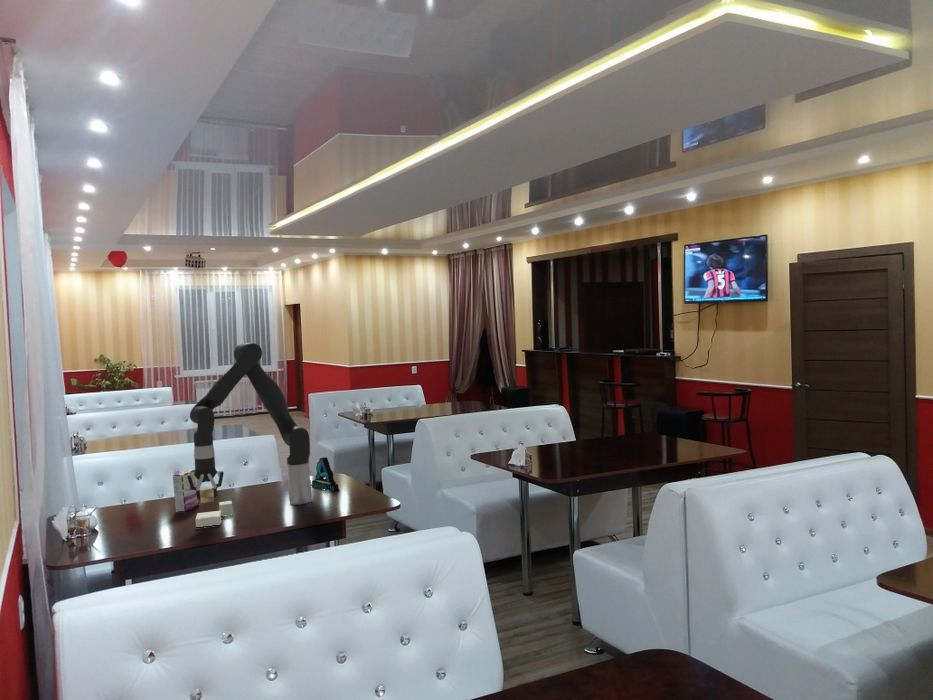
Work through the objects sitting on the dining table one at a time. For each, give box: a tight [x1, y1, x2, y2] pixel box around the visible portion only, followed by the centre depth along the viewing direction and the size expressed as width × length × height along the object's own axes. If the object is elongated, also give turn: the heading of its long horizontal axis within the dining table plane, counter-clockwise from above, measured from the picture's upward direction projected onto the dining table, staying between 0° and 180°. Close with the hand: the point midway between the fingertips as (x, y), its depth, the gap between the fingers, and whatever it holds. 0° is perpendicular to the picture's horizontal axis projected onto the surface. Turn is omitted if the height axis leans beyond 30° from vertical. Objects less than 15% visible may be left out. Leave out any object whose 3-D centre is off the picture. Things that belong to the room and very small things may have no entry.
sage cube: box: [218, 500, 234, 517], centre depth 294 cm, size 5×5×5 cm
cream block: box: [195, 510, 223, 528], centre depth 281 cm, size 9×9×4 cm
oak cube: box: [199, 486, 215, 504], centre depth 281 cm, size 5×5×5 cm
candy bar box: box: [172, 468, 201, 513], centre depth 306 cm, size 11×5×16 cm, turn 168°
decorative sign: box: [311, 456, 340, 493], centre depth 330 cm, size 19×2×15 cm, turn 46°
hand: (207, 498), depth 281 cm, fingers closed on oak cube, 5 cm apart
